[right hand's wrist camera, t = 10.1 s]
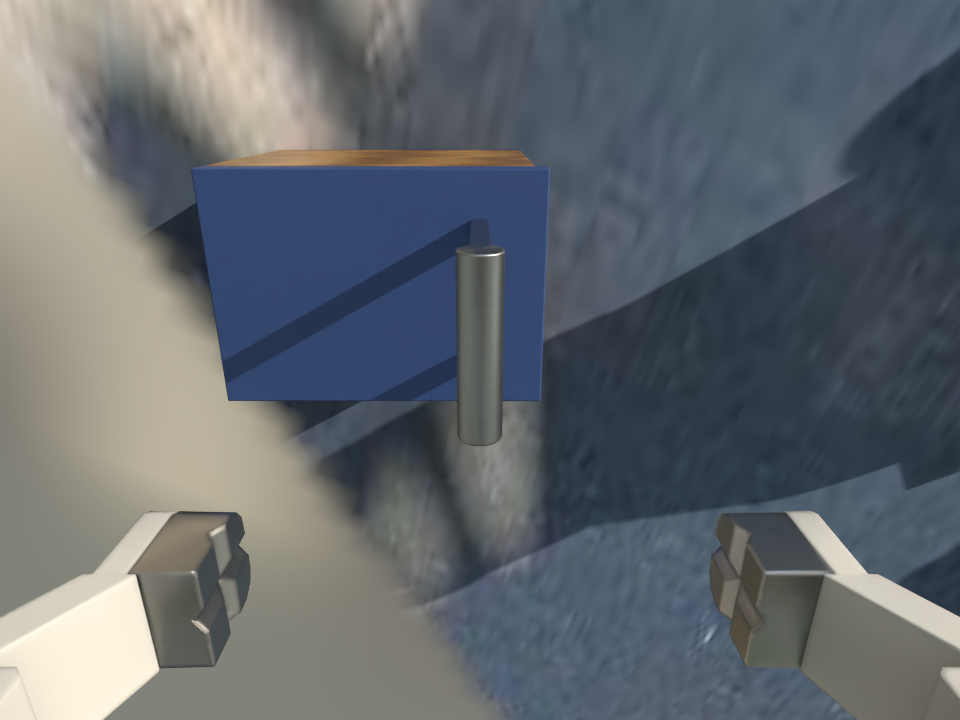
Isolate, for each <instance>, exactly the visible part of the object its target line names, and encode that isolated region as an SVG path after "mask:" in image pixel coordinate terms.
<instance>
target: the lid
mask: <svg viewBox="0 0 960 720" xmlns="http://www.w3.org/2000/svg"><path fill="white" fill-rule="evenodd" d="M191 172H192V178H193V184H194V191H195V197H196V203H197V209H198V215H199V222H200V228H201V234H202V240H203V246H204V253H205V259H206V265H207V271H208V277H209V284H210V290H211V296H212V302H213V308H214V315H215V321H216V327H217V333H218V339H219V346H220V352H221V358H222V364H223V370H224V377H225V383H226V389H227V395H228V400H229V401H457V430H458V437H459V439H460V440H461V441H462V442H464V443H466V444H468V445H473V446H487V445H491V444H494V443H496V442H498V441H499V440H500V438H501V436H502V404H503V401H540V400H541V378H542V354H543V329H544V305H545V281H546V257H547V233H548V208H549V184H550V169H549V168H547V167H546V166H201V167H196V168H192V169H191Z"/></svg>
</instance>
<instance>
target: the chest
mask: <svg viewBox="0 0 960 720" xmlns="http://www.w3.org/2000/svg"><path fill="white" fill-rule="evenodd" d="M207 166H534V165H533V164H532V163H531V162H530V161H529V160H528V159H527V158H526V157H525V156H524V155H523V154H522V153H521V151H503V150H277V151H273V152H268V153H263V154H258V155H254V156H249V157H244V158H239V159H235V160H230V161H225V162H220V163H216V164H211V165H207Z"/></svg>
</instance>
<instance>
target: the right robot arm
mask: <svg viewBox="0 0 960 720" xmlns="http://www.w3.org/2000/svg"><path fill="white" fill-rule="evenodd" d="M244 534H245V532H244V527H243V522H242V517H241V516H240V515H239V514H237V513H234V512H189V511H179V512H176V511H150V512H147V513H144V514H142V515H141V516H140V518H139V519H138V520H137V521H136V522H135V524H134V525H133V526H132V527H131V528H130V529H129V531H128V532H127V533H126V534H125V535H124V537H123V538H122V539H121V540H120V541H119V543H118V544H117V545H116V546H115V547H114V548H113V550H112V551H111V552H110V553H109V554H108V556H107V557H106V558H105V559H104V560H103V562H102V563H101V564H100V565H99V566H98V568H97V569H96V570H95V571H94V572H93V573H92V574H82V575H80V576H78V577H76V578H74V579H72V580H71V581H68V582H67V583H65V584H63V585H61V586H59V587H57V588H55V589H53V590H51V591H49V592H47V593H45V594H44V595H42V596H40V597H38V598H36V599H34V600H32V601H30V602H28V603H26V604H24V605H23V606H20V607H19V608H17V609H15V610H13V611H11V612H9V613H7V614H5V615H3V616H1V617H0V720H104V719H105V718H106V717H107V716H108V715H109V714H111V713H112V712H113V711H114V710H115V709H116V708H118V707H119V706H120V705H121V704H122V703H123V702H125V701H126V700H127V699H128V698H129V697H130V696H131V695H133V694H134V693H135V692H136V691H137V690H138V689H140V688H141V687H142V686H143V685H144V684H145V683H147V682H148V681H149V680H150V679H151V678H152V677H154V676H155V675H156V674H157V673H158V672H159V671H160V669H159V668H184V667H214V666H215V665H216V663H217V661H218V659H219V656H220V654H221V652H222V650H223V648H224V646H225V644H226V642H227V640H228V638H229V636H230V627H229V622H228V621H229V620H231V619H232V618H233V617H235V616H236V615H238V614H239V613H240V612H241V610H242V608H243V606H244V604H245V601H246V599H247V595H248V590H249V585H250V562H249V555H248V554H247V553H246V552H245V551H244V550H243V549H242V548H241V547H240V546H239V543H240V542H241V540H242V538H243V536H244ZM715 534H716V536H717V538H718V540H719V542H720V543H721V546H720V547H719V548H718V549H717V550H716V551H715V552H714V553H713V554H712V555H711V563H710V570H709V574H710V586H711V591H712V595H713V598H714V602H715V604H716V606H717V608H718V610H719V612H720V613H721V614H722V615H724V616H725V617H727V618H728V619H729V620H731V621H732V622H731V627H730V633H729V634H730V636H731V638H732V640H733V642H734V644H735V646H736V648H737V650H738V652H739V654H740V656H741V658H742V660H743V663H744V665H745V667H775V668H801V669H800V671H801V672H802V673H803V674H804V675H806V676H807V677H808V678H809V679H810V680H811V681H812V682H814V683H815V684H816V685H817V686H818V687H819V688H821V689H822V690H823V691H824V692H825V693H826V694H828V695H829V696H830V697H831V698H832V699H833V700H835V701H836V702H837V703H838V704H839V705H840V706H842V707H843V708H844V709H845V710H846V711H847V712H849V713H850V714H851V715H852V716H853V717H854V718H855V719H857V720H960V617H958V616H957V615H955V614H953V613H951V612H949V611H947V610H945V609H943V608H941V607H939V606H937V605H936V604H934V603H932V602H930V601H928V600H926V599H924V598H922V597H920V596H918V595H916V594H914V593H913V592H911V591H909V590H907V589H905V588H903V587H901V586H899V585H897V584H895V583H893V582H891V581H890V580H888V579H886V578H884V577H882V576H880V575H878V574H867V572H866V571H865V570H864V569H863V568H862V566H861V565H860V564H859V563H858V562H857V560H856V559H855V558H854V557H853V556H852V555H851V553H850V552H849V551H848V550H847V549H846V547H845V546H844V545H843V544H842V543H841V541H840V540H839V539H838V538H837V537H836V535H835V534H834V533H833V532H832V531H831V530H830V528H829V527H828V526H827V525H826V524H825V522H824V521H823V520H822V519H821V518H820V516H819V515H818V514H816V513H814V512H812V511H789V512H780V513H721V515H720V517H719V519H718V521H717V526H716V531H715Z"/></svg>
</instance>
